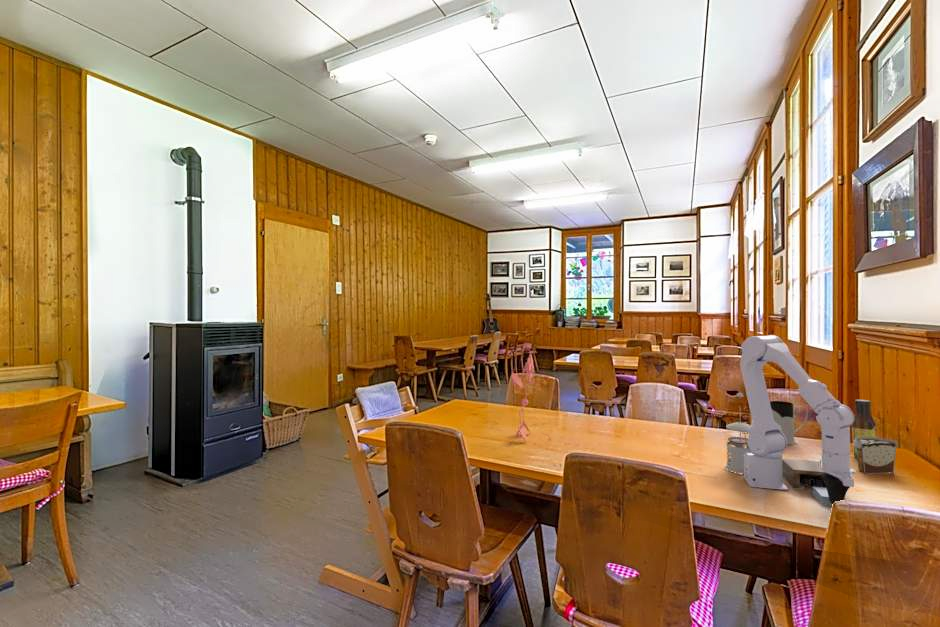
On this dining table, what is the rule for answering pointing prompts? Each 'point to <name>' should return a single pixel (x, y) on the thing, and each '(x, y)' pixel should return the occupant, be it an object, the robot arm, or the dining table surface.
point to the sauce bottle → (863, 422)
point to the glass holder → (786, 418)
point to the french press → (737, 446)
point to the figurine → (517, 380)
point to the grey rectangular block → (822, 495)
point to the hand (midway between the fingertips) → (836, 503)
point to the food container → (875, 454)
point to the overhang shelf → (802, 472)
